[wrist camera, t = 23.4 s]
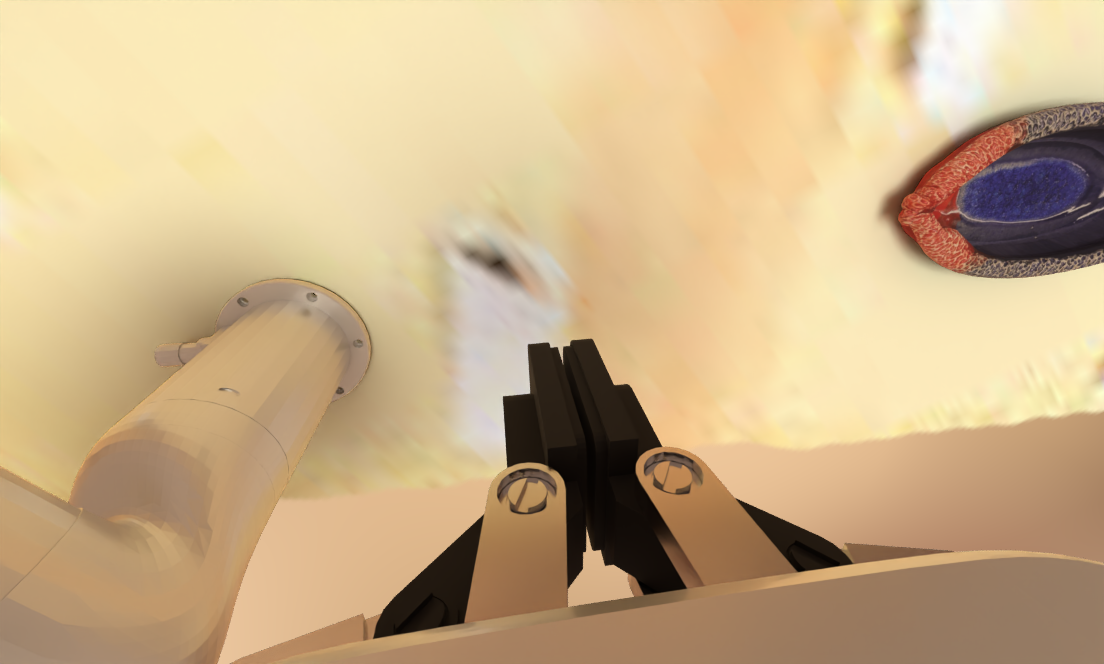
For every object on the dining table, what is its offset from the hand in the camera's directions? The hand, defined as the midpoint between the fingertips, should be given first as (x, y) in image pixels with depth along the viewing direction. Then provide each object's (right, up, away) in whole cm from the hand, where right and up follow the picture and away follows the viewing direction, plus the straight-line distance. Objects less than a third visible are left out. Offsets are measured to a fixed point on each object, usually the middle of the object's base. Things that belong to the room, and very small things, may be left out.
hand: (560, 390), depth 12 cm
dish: (+45, +16, +32) cm, 58 cm away
